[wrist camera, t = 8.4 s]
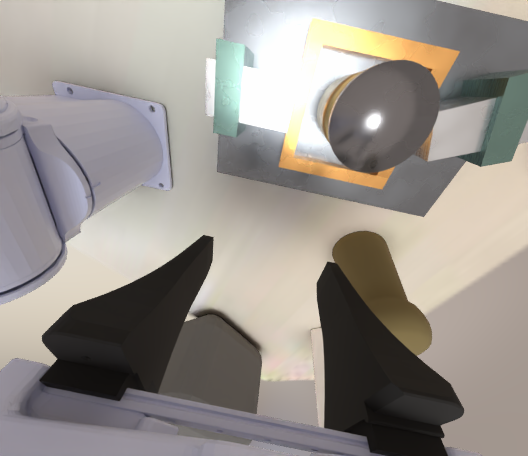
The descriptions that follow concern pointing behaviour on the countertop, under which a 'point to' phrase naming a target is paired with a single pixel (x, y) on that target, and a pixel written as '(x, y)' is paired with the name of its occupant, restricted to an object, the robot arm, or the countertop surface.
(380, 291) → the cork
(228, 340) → the dark grey rounded block
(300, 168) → the bench plate
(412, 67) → the tan and grey cylinder
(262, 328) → the countertop surface
